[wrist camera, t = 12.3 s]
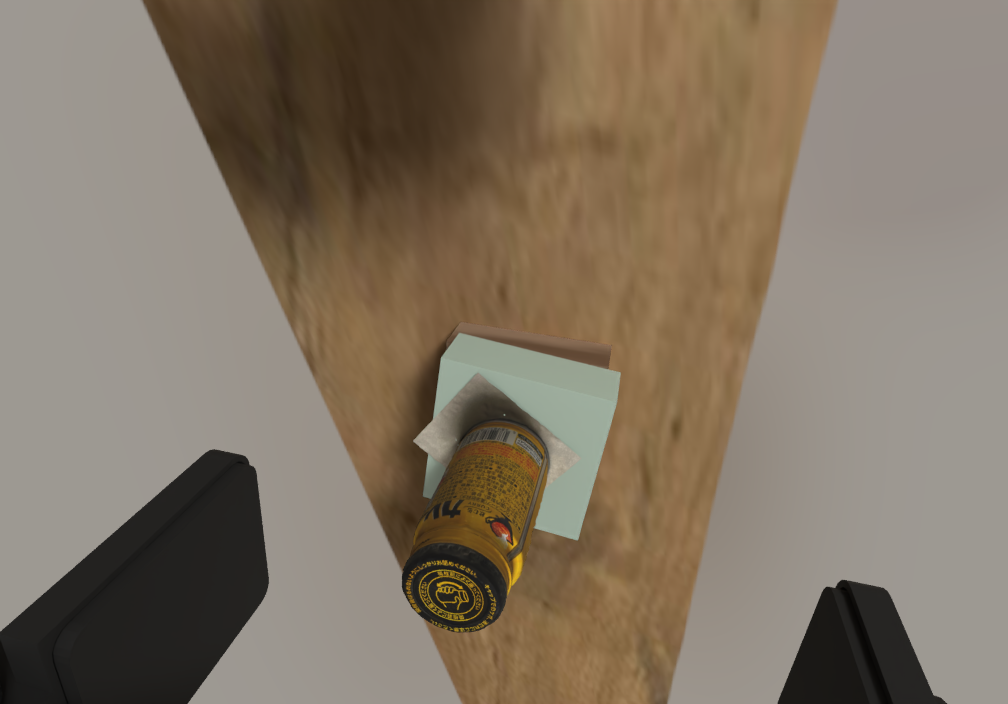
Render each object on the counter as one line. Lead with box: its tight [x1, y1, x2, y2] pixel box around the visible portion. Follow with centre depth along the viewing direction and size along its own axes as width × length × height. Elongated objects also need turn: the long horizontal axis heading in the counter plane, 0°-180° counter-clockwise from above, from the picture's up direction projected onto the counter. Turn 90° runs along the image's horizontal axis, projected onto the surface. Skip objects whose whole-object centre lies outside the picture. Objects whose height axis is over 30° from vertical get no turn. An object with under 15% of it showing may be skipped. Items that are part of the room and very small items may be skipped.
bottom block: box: [446, 322, 612, 369], centre depth 46 cm, size 11×11×4 cm
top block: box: [423, 333, 621, 540], centre depth 42 cm, size 11×11×4 cm
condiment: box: [402, 373, 581, 632], centre depth 36 cm, size 7×8×12 cm
